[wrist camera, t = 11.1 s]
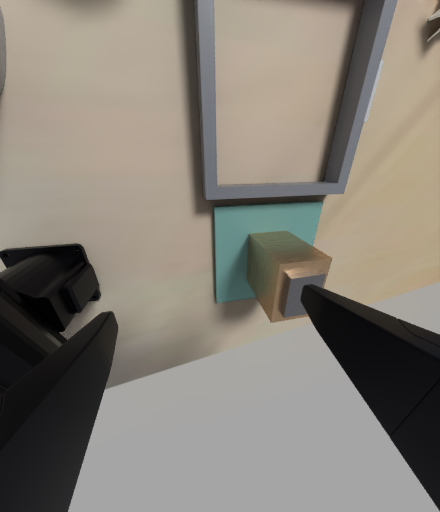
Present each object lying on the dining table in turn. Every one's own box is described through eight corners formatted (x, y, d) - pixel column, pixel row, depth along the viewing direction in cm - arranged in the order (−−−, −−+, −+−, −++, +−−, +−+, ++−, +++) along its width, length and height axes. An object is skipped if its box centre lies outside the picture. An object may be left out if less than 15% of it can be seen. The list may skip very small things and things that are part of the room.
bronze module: (246, 279, 23) (274, 327, 16) (248, 233, 20) (283, 268, 13) (280, 275, 24) (320, 319, 17) (286, 230, 21) (338, 261, 14)
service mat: (216, 300, 24) (216, 303, 23) (213, 206, 19) (214, 207, 18) (299, 288, 26) (302, 290, 26) (319, 200, 21) (323, 201, 20)
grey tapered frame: (203, 196, 18) (206, 199, 16) (189, -87, 11) (191, -136, 9) (334, 190, 21) (348, 193, 19) (393, -42, 13) (426, -74, 12)
